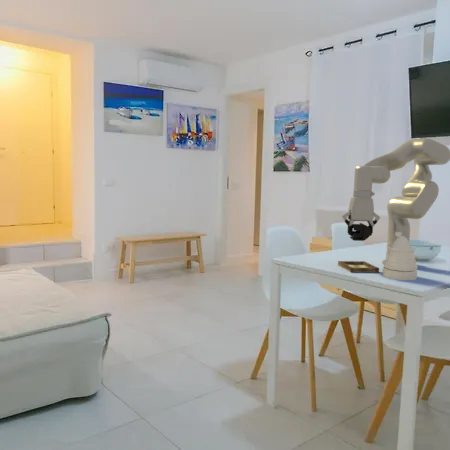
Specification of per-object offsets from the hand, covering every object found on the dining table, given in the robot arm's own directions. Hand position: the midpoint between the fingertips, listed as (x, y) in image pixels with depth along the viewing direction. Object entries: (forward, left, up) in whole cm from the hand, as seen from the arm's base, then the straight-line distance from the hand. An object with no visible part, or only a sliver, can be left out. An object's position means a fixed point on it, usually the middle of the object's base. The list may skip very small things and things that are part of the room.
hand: (359, 234), depth 193 cm
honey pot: (-12, +15, -15) cm, 24 cm away
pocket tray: (0, 0, -15) cm, 15 cm away
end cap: (0, 0, -2) cm, 2 cm away
